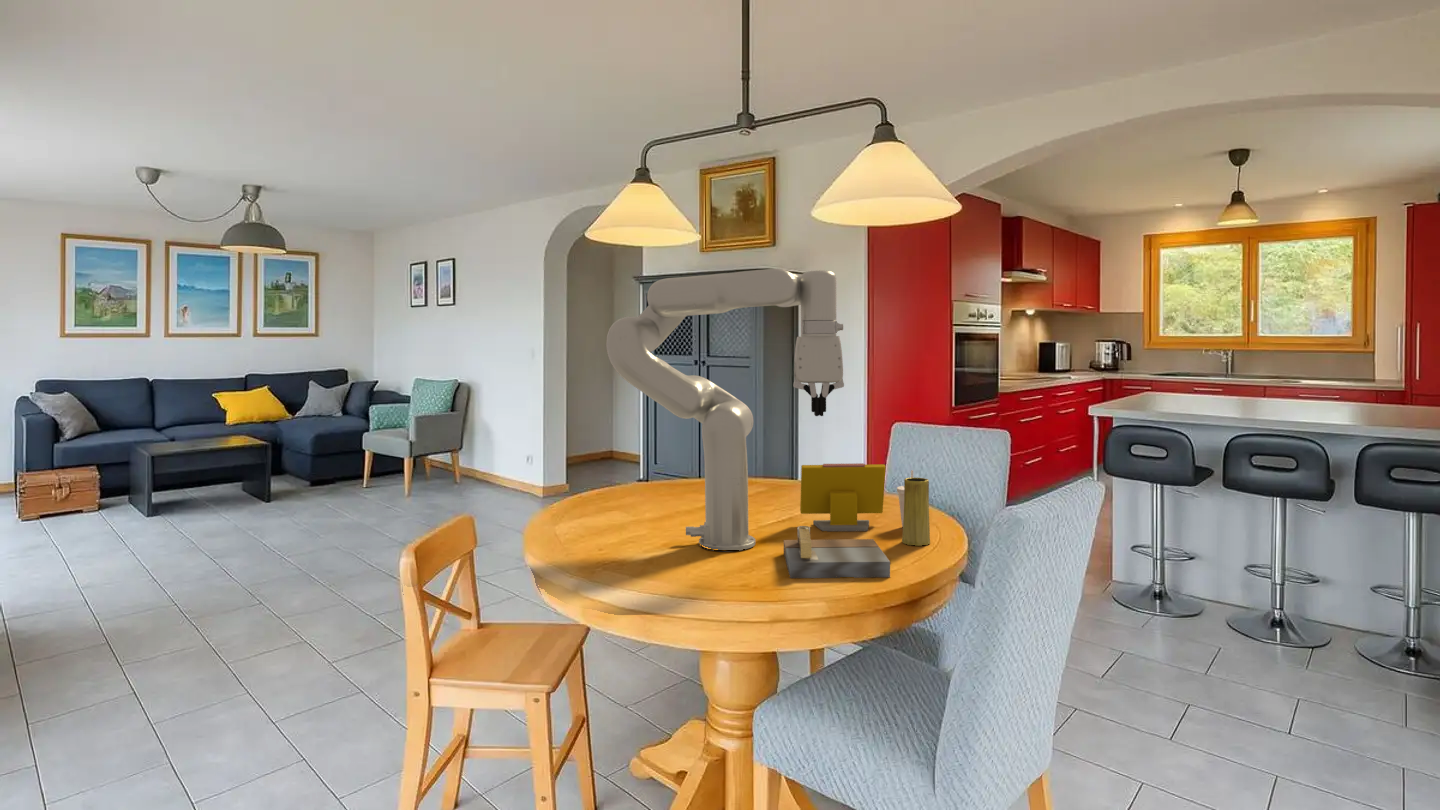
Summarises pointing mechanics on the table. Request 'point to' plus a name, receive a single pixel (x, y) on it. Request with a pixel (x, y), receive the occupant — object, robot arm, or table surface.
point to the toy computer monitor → (842, 494)
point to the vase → (916, 512)
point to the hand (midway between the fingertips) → (818, 415)
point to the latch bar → (804, 541)
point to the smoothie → (902, 498)
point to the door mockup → (837, 559)
